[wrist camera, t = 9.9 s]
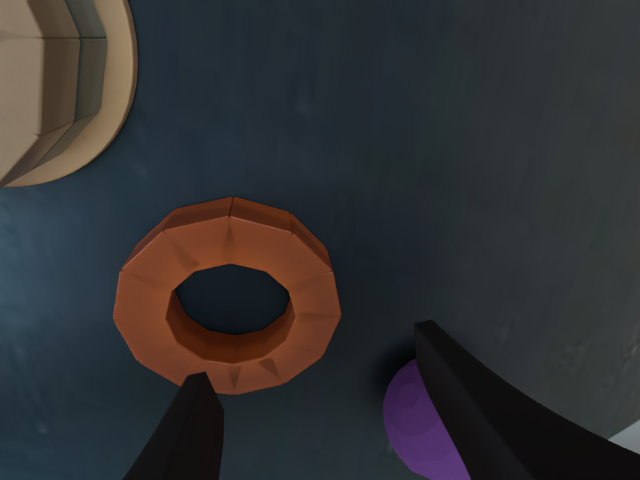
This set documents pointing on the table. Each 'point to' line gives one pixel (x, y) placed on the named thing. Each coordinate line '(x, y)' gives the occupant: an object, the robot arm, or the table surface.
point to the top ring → (215, 250)
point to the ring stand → (62, 84)
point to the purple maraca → (419, 428)
